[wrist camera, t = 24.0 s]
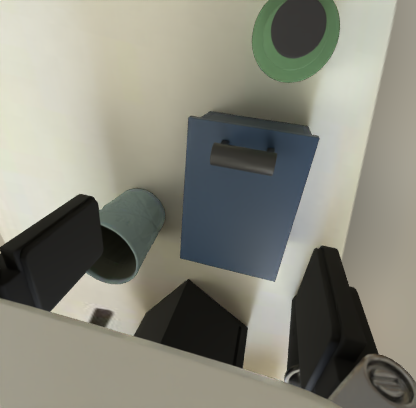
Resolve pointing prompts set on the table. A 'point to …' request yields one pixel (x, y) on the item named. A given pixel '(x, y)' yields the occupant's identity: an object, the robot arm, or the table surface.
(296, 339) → the drinking cup
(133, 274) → the green tapered pot
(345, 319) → the robot arm
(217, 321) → the gaming console
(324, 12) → the water bottle
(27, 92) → the table surface
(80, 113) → the table surface
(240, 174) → the lid
